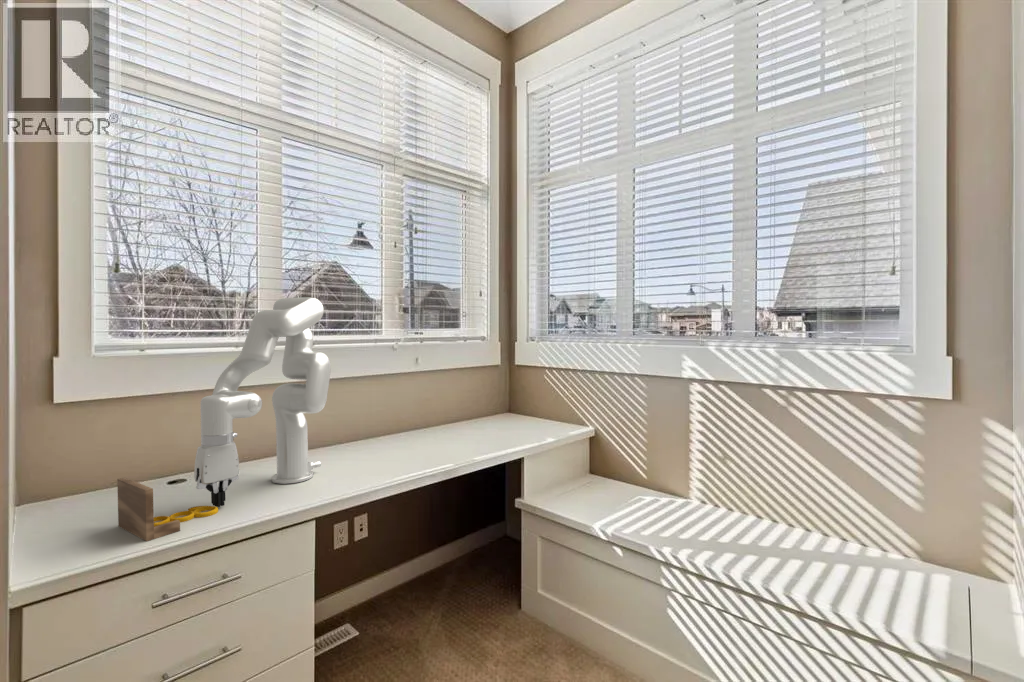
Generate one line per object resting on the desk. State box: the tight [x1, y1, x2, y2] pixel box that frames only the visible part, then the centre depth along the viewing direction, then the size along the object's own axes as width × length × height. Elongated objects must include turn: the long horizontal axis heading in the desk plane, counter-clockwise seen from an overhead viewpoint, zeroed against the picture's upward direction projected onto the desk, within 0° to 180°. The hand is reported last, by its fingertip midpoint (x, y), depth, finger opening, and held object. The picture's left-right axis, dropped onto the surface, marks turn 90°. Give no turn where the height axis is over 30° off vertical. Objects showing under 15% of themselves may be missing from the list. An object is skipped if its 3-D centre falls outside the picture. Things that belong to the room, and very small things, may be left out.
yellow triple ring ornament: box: [154, 505, 219, 527], centre depth 127 cm, size 17×2×10 cm
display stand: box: [116, 477, 181, 542], centre depth 120 cm, size 7×16×12 cm, turn 57°
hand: (218, 505), depth 134 cm, fingers closed
